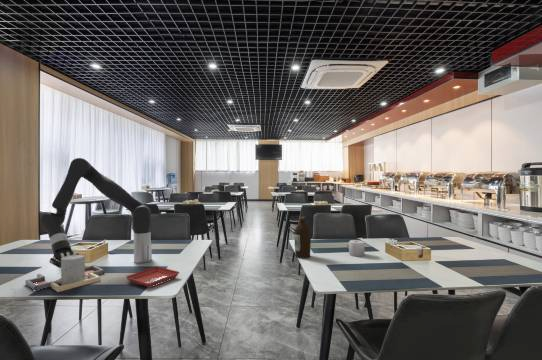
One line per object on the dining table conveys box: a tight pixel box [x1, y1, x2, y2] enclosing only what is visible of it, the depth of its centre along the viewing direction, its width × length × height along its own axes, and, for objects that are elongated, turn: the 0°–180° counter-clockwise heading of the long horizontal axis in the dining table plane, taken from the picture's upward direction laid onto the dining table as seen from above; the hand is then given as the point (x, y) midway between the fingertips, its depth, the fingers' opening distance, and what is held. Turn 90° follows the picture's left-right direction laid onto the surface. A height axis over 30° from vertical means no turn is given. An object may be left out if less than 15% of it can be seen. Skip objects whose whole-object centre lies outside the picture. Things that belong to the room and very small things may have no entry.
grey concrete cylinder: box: [60, 253, 86, 286], centre depth 139 cm, size 10×10×12 cm
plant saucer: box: [125, 266, 180, 288], centre depth 143 cm, size 18×18×3 cm
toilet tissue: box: [346, 239, 366, 258], centre depth 189 cm, size 9×13×9 cm
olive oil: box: [293, 216, 312, 259], centre depth 184 cm, size 11×11×25 cm
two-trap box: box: [25, 264, 105, 293], centre depth 144 cm, size 29×29×2 cm
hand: (69, 272), depth 143 cm, fingers closed
